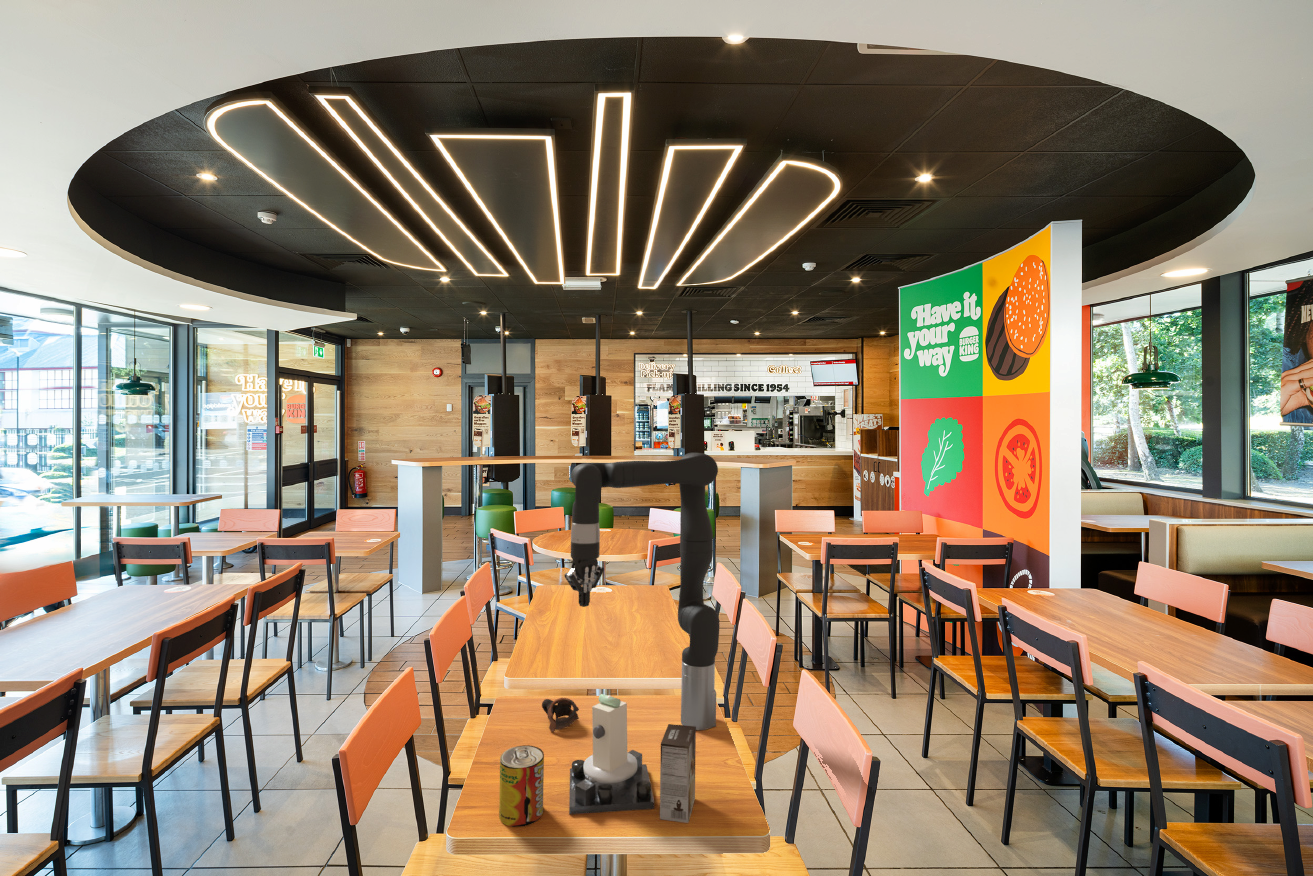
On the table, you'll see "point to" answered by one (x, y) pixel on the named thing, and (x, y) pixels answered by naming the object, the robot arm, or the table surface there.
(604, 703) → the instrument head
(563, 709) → the brown hollow shell
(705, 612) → the robot arm
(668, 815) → the coffee box
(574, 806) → the base
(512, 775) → the beverage can
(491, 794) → the table surface
